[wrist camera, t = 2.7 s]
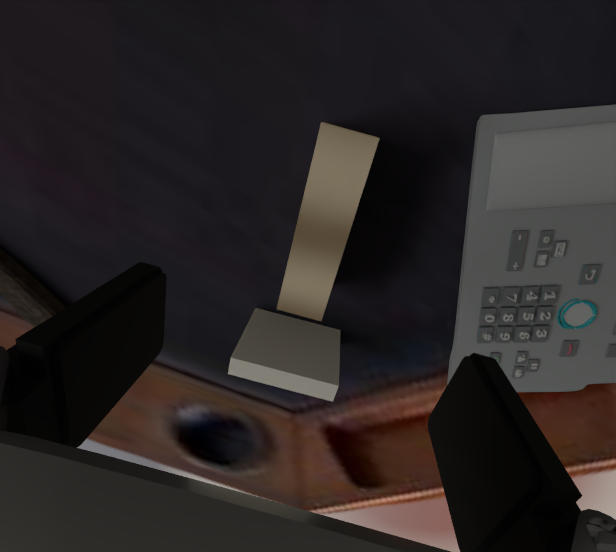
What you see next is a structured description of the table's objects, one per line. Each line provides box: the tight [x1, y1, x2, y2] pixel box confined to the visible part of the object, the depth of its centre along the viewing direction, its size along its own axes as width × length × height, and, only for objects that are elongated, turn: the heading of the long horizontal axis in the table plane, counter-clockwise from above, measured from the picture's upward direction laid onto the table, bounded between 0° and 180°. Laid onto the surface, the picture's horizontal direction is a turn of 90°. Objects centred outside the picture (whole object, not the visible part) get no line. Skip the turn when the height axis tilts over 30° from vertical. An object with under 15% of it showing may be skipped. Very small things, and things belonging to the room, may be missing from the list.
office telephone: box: [447, 105, 616, 392], centre depth 24 cm, size 23×3×20 cm
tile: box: [228, 308, 340, 401], centre depth 26 cm, size 2×8×7 cm, turn 77°
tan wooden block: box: [277, 122, 380, 321], centre depth 22 cm, size 12×3×6 cm, turn 166°
